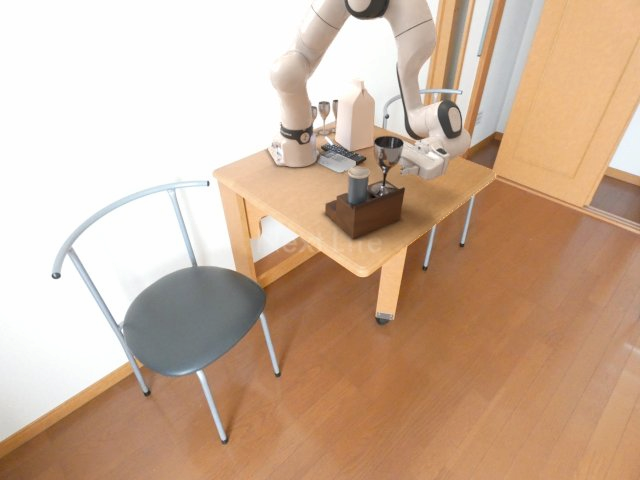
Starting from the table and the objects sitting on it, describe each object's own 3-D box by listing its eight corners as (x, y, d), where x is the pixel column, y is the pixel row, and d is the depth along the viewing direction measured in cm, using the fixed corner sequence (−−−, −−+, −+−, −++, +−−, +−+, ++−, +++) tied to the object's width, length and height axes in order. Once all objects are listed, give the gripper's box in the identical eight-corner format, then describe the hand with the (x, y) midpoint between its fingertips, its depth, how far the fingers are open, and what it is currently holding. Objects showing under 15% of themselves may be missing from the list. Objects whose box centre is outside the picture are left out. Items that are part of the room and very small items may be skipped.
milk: (335, 140, 159) (336, 77, 143) (357, 135, 163) (361, 73, 147) (349, 151, 151) (353, 85, 134) (373, 145, 155) (379, 81, 139)
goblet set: (309, 138, 161) (308, 107, 153) (305, 133, 165) (304, 103, 157) (366, 128, 169) (369, 98, 161) (360, 123, 174) (362, 94, 165)
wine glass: (395, 198, 106) (403, 150, 97) (368, 195, 107) (372, 147, 98) (397, 184, 112) (404, 137, 103) (371, 181, 113) (375, 135, 104)
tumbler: (342, 197, 107) (344, 169, 101) (359, 191, 109) (361, 164, 103) (354, 207, 103) (356, 178, 97) (371, 201, 105) (374, 173, 99)
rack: (325, 213, 118) (325, 182, 110) (370, 197, 125) (373, 166, 117) (352, 239, 108) (355, 206, 100) (400, 219, 115) (405, 188, 108)
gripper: (404, 131, 116) (369, 141, 110) (454, 157, 103) (417, 170, 97) (401, 150, 120) (367, 161, 114) (449, 177, 107) (413, 190, 101)
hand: (390, 165), depth 106 cm, fingers open, 8 cm apart
